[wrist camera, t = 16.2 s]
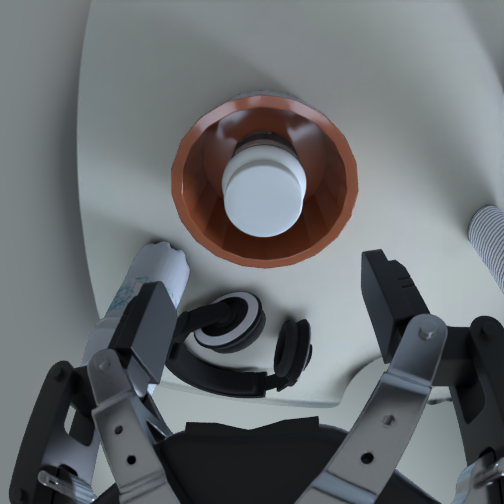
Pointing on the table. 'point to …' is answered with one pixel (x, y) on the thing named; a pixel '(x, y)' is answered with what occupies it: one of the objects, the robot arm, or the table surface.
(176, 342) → the headphones
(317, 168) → the crock
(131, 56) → the table surface
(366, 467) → the robot arm
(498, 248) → the cup
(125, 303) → the bottle
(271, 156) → the pill bottle
